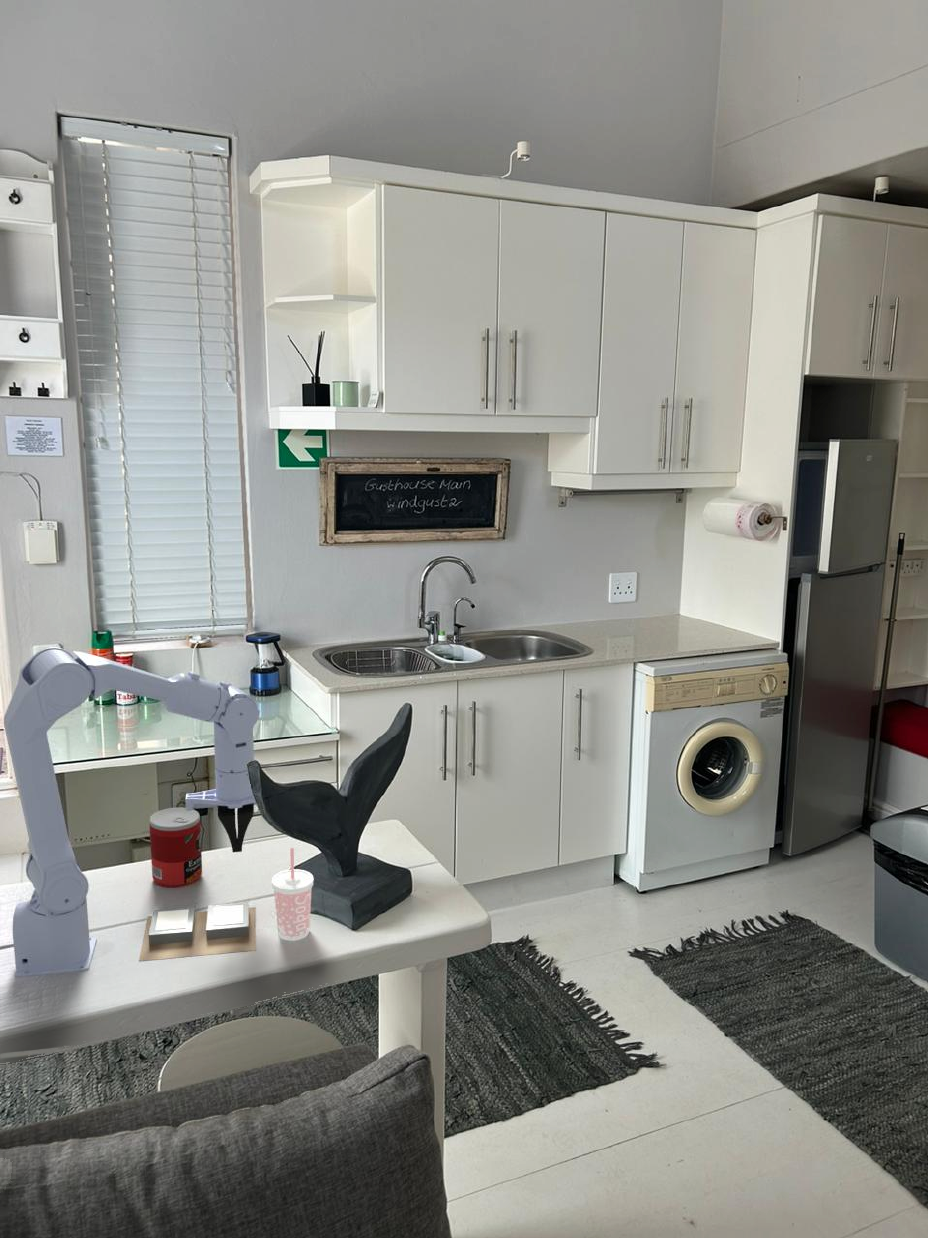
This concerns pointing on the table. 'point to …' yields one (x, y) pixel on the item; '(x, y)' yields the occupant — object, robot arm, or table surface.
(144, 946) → the cork mat
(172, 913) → the grey framed square tile
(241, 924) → the gray framed tile
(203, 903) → the table surface
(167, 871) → the canned food
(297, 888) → the beverage cup
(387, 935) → the table surface
